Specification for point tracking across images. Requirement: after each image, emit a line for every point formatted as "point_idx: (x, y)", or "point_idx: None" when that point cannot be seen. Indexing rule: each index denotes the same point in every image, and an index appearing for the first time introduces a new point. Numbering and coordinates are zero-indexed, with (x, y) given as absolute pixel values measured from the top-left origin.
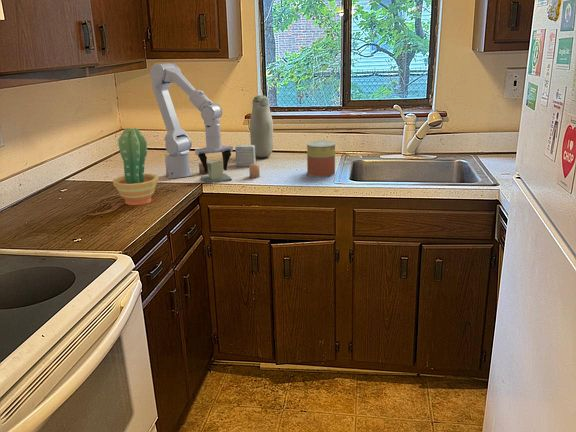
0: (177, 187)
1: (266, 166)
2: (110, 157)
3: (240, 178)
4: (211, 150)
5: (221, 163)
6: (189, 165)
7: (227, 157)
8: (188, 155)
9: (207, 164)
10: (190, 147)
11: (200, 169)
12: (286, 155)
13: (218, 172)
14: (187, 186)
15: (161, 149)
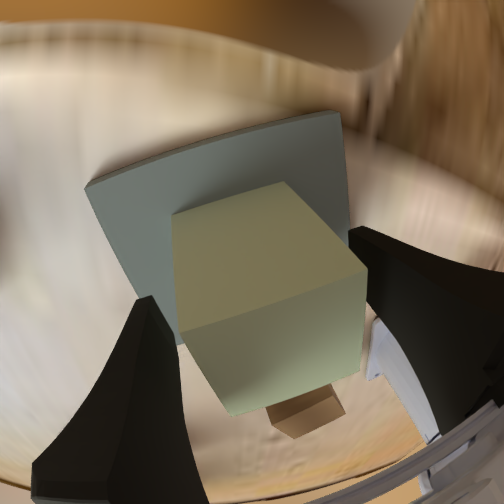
0: (484, 96)
1: (9, 427)
2: None
3: (30, 249)
4: (501, 476)
5: (191, 325)
6: (403, 377)
7: (90, 431)
8: (435, 423)
9: (302, 414)
10: (426, 475)
11: (330, 384)
12: (23, 478)
13: (225, 232)
14: (448, 90)
15: (349, 478)
